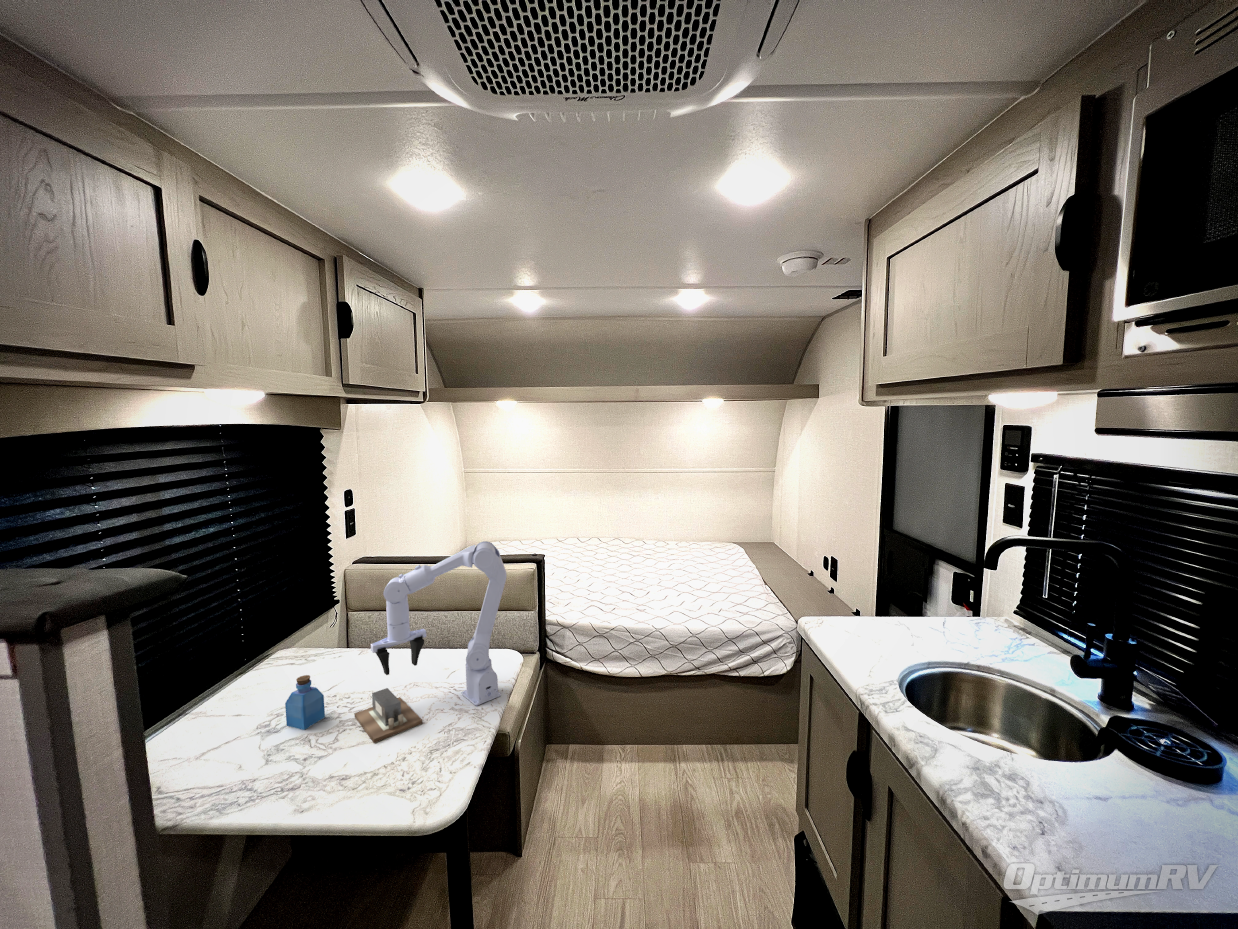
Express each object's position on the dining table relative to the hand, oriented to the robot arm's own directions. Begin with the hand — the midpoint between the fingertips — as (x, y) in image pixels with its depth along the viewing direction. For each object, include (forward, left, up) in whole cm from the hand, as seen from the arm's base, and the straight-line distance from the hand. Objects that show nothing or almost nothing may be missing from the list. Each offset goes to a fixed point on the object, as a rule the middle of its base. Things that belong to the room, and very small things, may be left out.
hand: (400, 669), depth 142 cm
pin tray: (-5, +6, -10) cm, 13 cm away
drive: (-5, +6, -9) cm, 12 cm away
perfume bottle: (+10, +22, -11) cm, 26 cm away
